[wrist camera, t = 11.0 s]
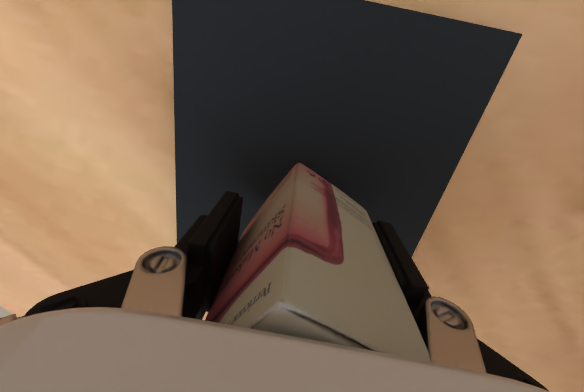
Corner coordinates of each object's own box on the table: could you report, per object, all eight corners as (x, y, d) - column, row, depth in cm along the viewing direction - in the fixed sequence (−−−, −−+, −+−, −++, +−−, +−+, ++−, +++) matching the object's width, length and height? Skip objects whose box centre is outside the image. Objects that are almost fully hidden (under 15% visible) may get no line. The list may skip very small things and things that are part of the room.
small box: (298, 157, 11) (278, 295, 4) (368, 209, 12) (457, 400, 5) (240, 231, 13) (156, 415, 6) (305, 271, 14) (301, 474, 7)
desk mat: (516, 35, 11) (523, 34, 11) (375, 322, 20) (376, 327, 20) (175, -38, 11) (170, -42, 11) (180, 285, 20) (177, 289, 19)
